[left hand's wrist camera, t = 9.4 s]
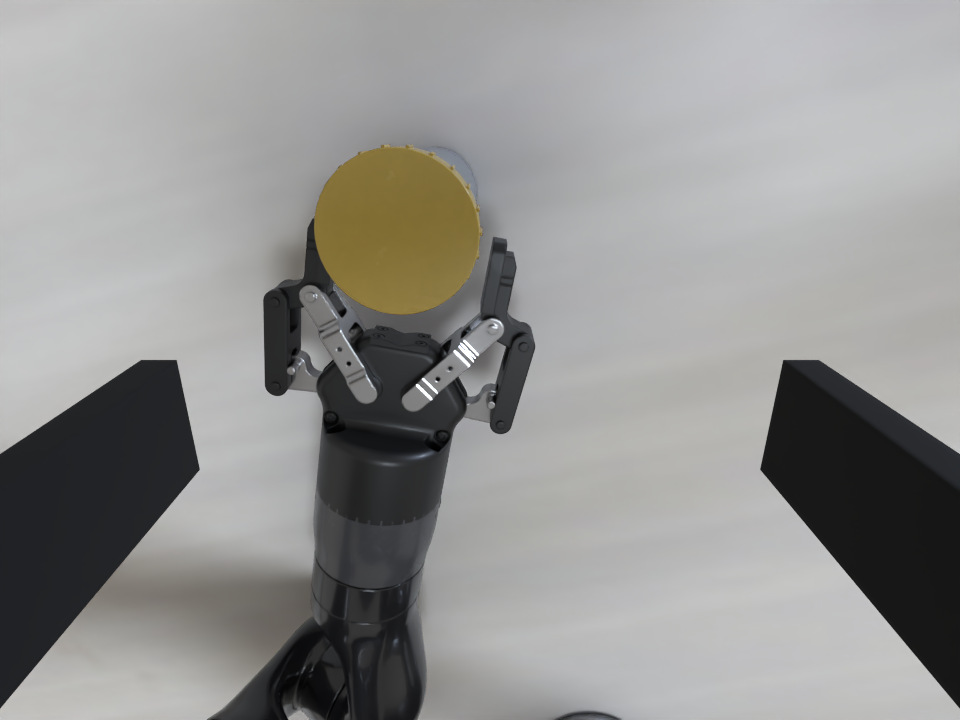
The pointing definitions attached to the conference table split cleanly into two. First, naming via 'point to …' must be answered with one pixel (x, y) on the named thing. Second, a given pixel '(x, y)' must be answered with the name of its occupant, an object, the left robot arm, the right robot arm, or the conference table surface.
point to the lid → (398, 229)
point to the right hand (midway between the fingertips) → (417, 224)
